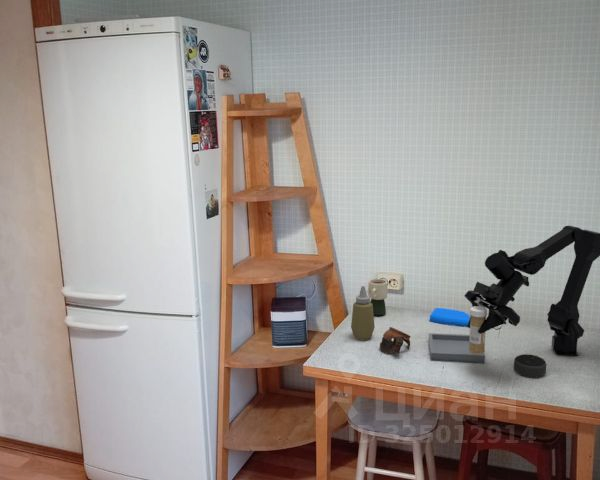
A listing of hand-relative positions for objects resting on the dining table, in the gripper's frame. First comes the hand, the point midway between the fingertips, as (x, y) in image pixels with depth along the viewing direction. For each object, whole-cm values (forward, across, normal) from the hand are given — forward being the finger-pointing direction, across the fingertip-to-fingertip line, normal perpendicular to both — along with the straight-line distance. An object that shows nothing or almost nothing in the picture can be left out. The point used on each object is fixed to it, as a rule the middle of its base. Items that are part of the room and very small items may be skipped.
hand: (473, 330), depth 170 cm
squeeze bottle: (+21, -37, -3) cm, 43 cm away
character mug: (+10, -54, +8) cm, 56 cm away
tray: (+6, -14, +13) cm, 20 cm away
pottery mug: (+18, -23, +1) cm, 29 cm away
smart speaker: (-1, +6, +21) cm, 22 cm away
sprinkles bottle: (+4, 0, +6) cm, 7 cm away
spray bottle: (-7, -34, +27) cm, 44 cm away
